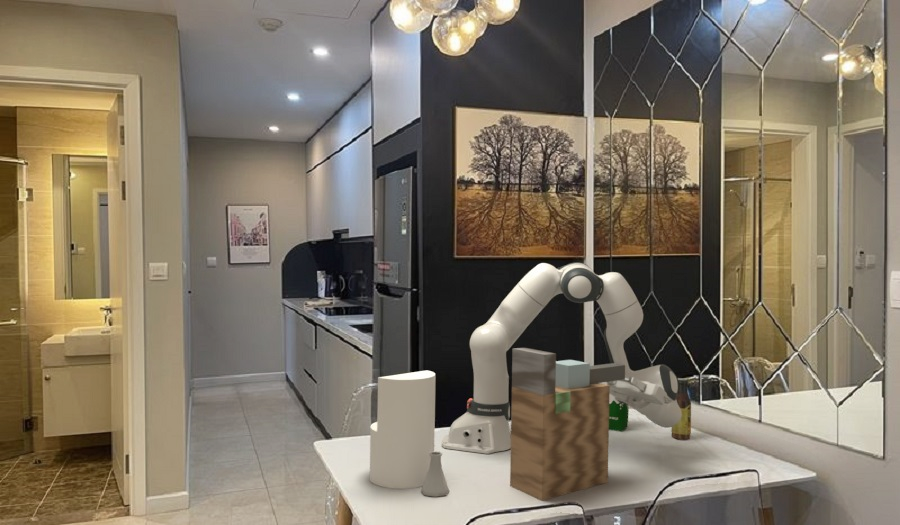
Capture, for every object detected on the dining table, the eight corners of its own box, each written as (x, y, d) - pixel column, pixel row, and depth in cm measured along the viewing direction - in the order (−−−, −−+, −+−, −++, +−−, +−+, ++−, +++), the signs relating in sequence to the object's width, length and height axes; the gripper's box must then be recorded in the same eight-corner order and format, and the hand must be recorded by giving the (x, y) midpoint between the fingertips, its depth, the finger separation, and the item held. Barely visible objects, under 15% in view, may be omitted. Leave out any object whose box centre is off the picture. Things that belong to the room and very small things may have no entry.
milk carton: (598, 428, 229) (599, 372, 228) (607, 423, 236) (608, 368, 236) (623, 432, 224) (624, 374, 224) (631, 427, 232) (632, 371, 231)
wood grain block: (542, 500, 159) (545, 354, 159) (509, 485, 170) (511, 348, 169) (608, 482, 173) (611, 348, 173) (574, 469, 183) (576, 342, 183)
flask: (448, 487, 168) (449, 449, 168) (449, 497, 161) (450, 457, 160) (420, 487, 168) (421, 448, 167) (420, 497, 160) (421, 457, 160)
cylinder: (446, 478, 175) (448, 374, 174) (397, 493, 163) (399, 382, 162) (405, 462, 187) (407, 366, 187) (356, 476, 175) (358, 372, 175)
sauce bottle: (692, 441, 215) (693, 381, 215) (672, 439, 216) (673, 380, 216) (689, 435, 221) (690, 377, 221) (669, 434, 222) (670, 376, 222)
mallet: (567, 388, 168) (568, 365, 168) (549, 384, 173) (549, 361, 173) (629, 380, 181) (629, 358, 181) (609, 376, 187) (610, 355, 187)
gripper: (670, 414, 181) (643, 393, 174) (613, 400, 198) (586, 381, 191) (677, 393, 183) (651, 372, 176) (620, 381, 199) (594, 361, 192)
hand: (617, 376), depth 183 cm, fingers open, 8 cm apart
